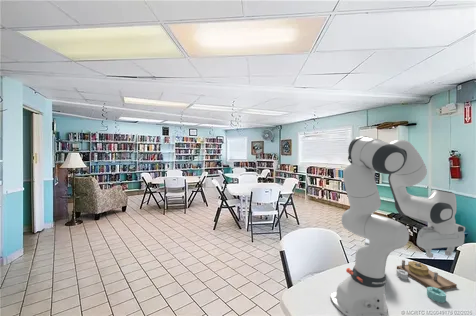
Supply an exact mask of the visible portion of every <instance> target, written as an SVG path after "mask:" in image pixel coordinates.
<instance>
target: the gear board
mask: <svg viewBox="0 0 476 316" xmlns="http://www.w3.org/2000/svg"><path fill="white" fill-rule="evenodd" d="M407 262H408V263H407V264H406V260H405V259H401V265H396V270H398V269H400V270H404V271H406V272H407V273H408V277H410V278H412V279H413V280H415V281H416V282H418V283H420V284H421V285H424V286H425V287H426V288H427V287H434V288H438V289H440V290H442V291H444V290H450V289H454V288H457V286H458V285H457V283H455V282H453V281H452V280H449V279H448V278H445V277H444V276H442V275H440V274H439V273H438V272H436V271H433V270H430V269H429V267H428V265H426V264H423V263H422V262H419V261H415V260H410V261H407Z"/></svg>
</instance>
